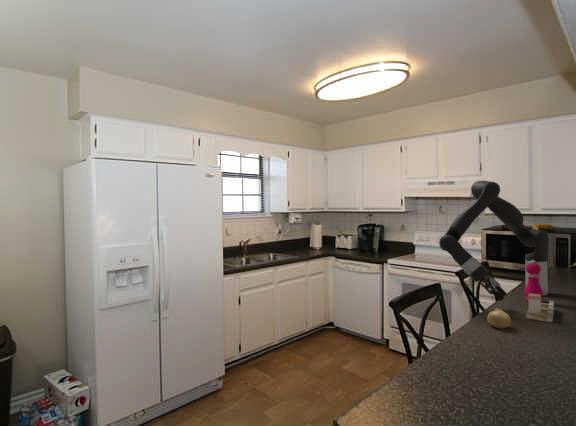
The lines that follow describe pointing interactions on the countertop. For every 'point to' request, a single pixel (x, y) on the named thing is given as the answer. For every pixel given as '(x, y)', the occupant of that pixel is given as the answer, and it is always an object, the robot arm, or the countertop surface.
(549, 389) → the countertop surface
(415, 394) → the countertop surface
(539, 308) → the plug
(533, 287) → the pepper mill
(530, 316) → the comb rack
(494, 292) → the robot arm
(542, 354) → the countertop surface
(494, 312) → the onion
